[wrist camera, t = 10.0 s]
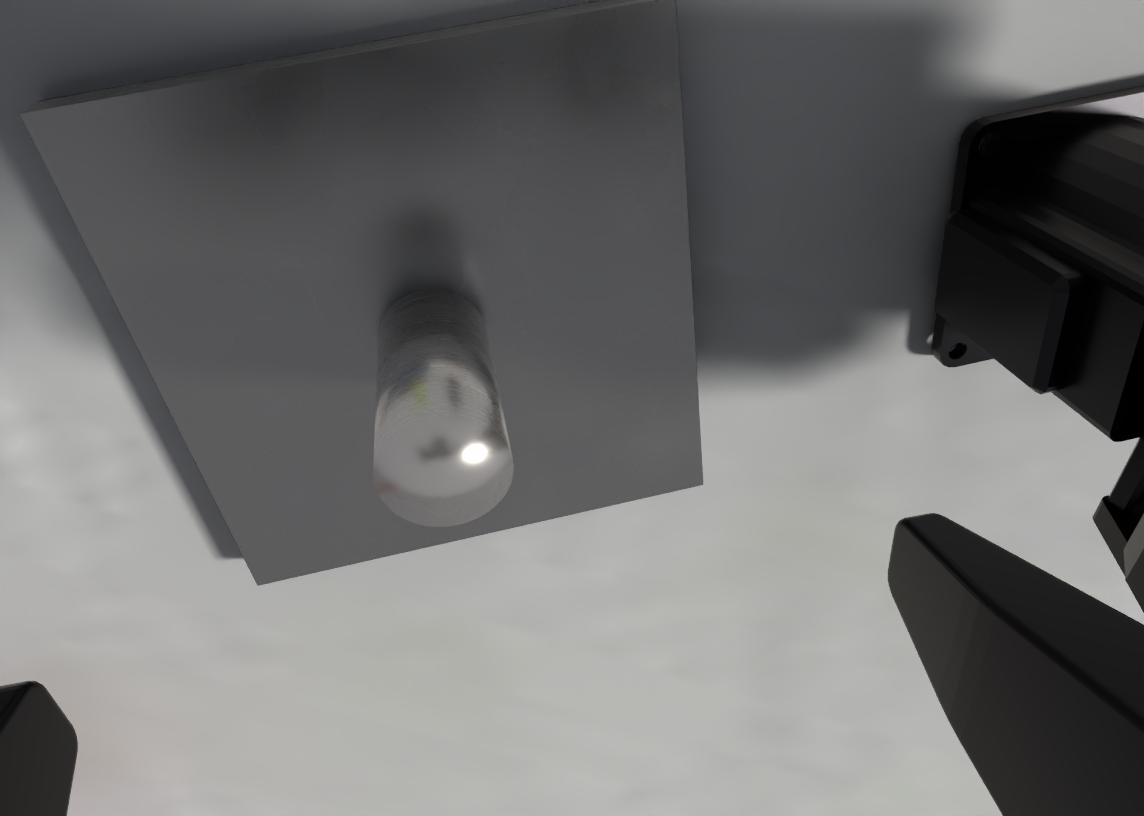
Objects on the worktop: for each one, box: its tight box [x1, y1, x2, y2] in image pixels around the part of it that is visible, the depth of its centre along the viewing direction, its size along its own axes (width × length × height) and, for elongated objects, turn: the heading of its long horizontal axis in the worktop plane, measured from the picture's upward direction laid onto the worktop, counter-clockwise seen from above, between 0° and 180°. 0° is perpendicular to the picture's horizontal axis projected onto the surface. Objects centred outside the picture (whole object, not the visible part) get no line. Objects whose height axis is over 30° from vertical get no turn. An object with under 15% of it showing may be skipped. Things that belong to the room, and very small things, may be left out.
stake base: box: [20, 0, 703, 585], centre depth 17 cm, size 12×12×6 cm
